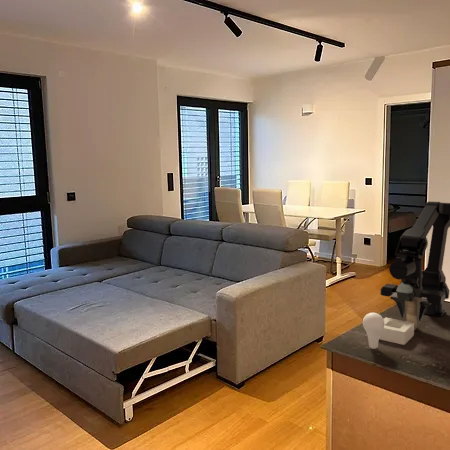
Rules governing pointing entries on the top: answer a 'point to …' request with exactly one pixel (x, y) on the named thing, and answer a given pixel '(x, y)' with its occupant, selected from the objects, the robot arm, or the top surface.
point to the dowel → (412, 312)
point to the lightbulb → (373, 328)
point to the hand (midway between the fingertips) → (411, 318)
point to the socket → (397, 331)
